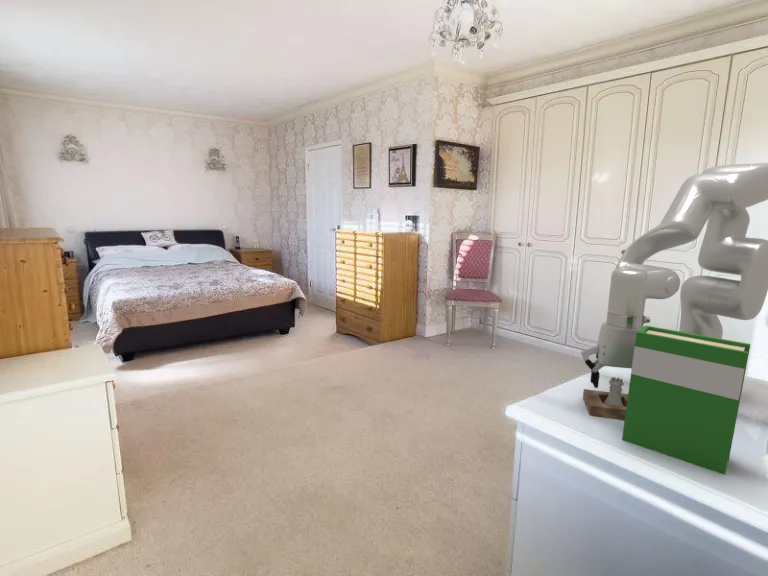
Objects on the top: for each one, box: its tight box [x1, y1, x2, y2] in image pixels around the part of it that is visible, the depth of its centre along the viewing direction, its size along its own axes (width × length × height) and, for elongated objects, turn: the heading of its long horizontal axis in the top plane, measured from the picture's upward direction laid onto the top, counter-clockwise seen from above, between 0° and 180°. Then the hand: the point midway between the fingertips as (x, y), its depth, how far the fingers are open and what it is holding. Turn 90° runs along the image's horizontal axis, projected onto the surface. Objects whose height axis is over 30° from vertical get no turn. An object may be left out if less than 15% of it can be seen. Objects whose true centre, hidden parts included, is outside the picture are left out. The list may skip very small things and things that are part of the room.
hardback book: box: [621, 324, 751, 476], centre depth 89 cm, size 18×7×24 cm, turn 47°
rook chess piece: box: [604, 376, 625, 406], centre depth 108 cm, size 4×4×8 cm
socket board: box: [582, 388, 628, 421], centre depth 108 cm, size 16×10×2 cm, turn 75°
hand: (616, 388), depth 107 cm, fingers open, 9 cm apart
